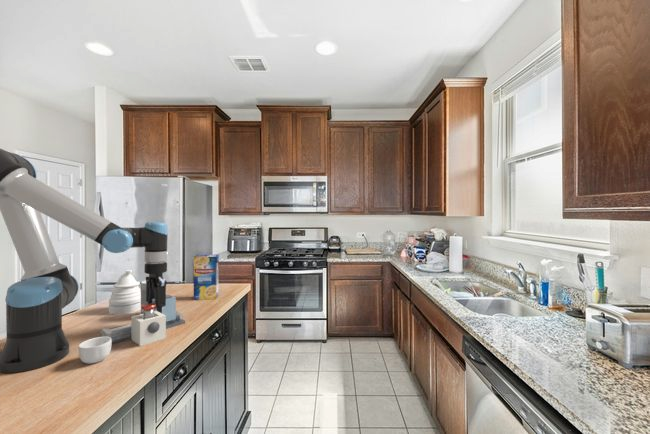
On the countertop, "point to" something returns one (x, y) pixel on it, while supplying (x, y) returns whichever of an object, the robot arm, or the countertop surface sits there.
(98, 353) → the teacup
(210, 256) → the blue cardboard box
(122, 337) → the rail
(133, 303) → the honey pot
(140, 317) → the white push button housing
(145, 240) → the robot arm
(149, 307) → the plunger
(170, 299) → the carriage
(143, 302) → the supplement tub
